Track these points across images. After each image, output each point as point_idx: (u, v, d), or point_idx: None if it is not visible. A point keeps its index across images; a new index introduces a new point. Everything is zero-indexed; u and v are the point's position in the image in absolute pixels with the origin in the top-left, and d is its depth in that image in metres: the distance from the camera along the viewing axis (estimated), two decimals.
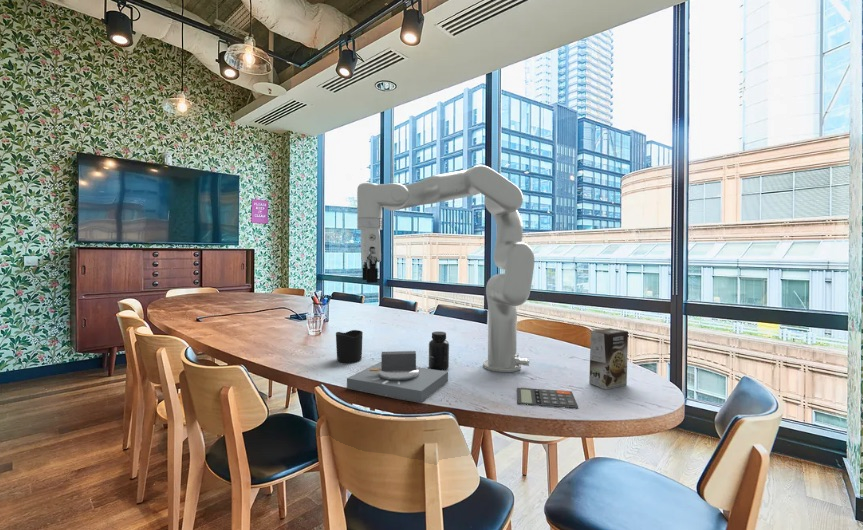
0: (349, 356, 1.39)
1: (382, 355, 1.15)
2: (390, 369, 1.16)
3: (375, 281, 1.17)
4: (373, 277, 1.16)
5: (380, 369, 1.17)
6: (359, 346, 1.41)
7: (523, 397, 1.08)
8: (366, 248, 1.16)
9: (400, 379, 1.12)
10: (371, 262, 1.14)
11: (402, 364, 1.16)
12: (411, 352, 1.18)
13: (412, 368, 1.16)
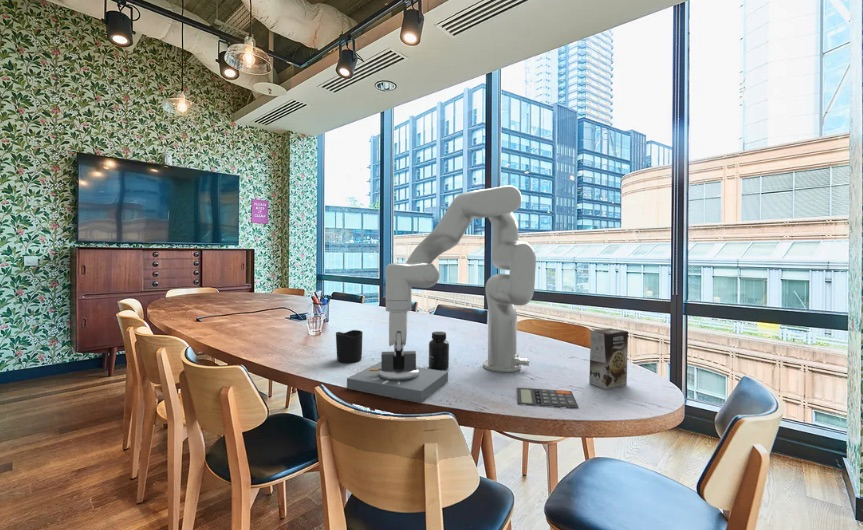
0: (349, 356, 1.39)
1: (382, 355, 1.15)
2: (390, 369, 1.16)
3: None
4: None
5: (380, 369, 1.17)
6: (359, 346, 1.41)
7: (524, 397, 1.08)
8: None
9: (400, 379, 1.12)
10: None
11: None
12: (411, 352, 1.18)
13: (412, 368, 1.16)
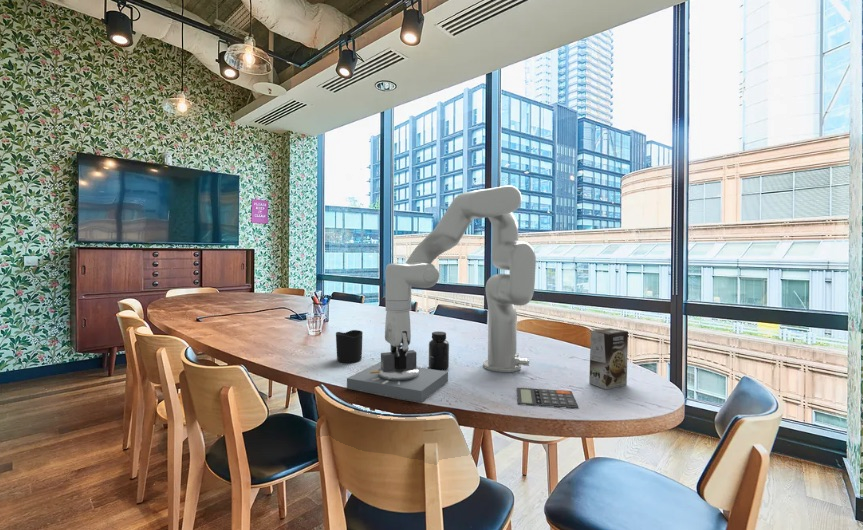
0: (349, 356, 1.39)
1: (384, 356, 1.14)
2: (392, 370, 1.15)
3: None
4: None
5: (381, 370, 1.15)
6: (359, 346, 1.41)
7: (524, 397, 1.08)
8: None
9: (406, 378, 1.12)
10: None
11: None
12: (410, 351, 1.19)
13: (413, 367, 1.18)
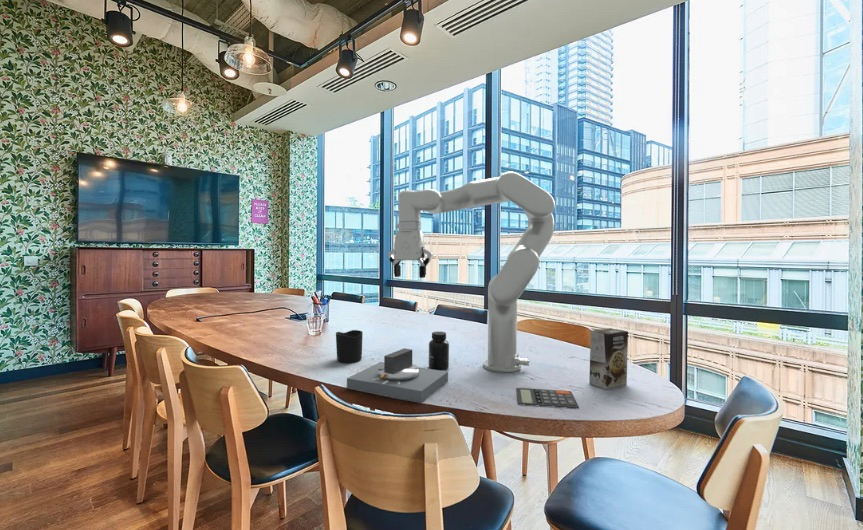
0: (349, 356, 1.39)
1: (393, 358, 1.13)
2: (398, 370, 1.15)
3: None
4: None
5: (388, 373, 1.13)
6: (359, 346, 1.41)
7: (524, 397, 1.08)
8: None
9: (416, 375, 1.15)
10: None
11: (404, 363, 1.18)
12: (406, 349, 1.21)
13: (410, 364, 1.20)
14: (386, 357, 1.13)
